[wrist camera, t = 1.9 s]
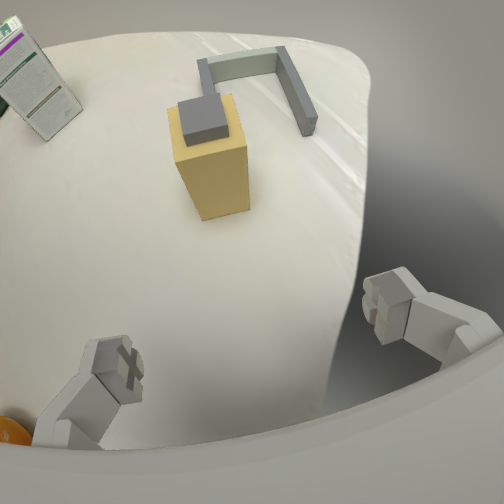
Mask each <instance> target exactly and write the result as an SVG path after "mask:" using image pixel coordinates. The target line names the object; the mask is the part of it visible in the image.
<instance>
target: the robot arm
mask: <svg viewBox="0 0 504 504" xmlns="http://www.w3.org/2000/svg"><path fill="white" fill-rule="evenodd" d="M363 288H364V290H365V291H366V294H365V295H364V296H363V299H362V306H363V311H364V314H365V317H366V319H367V320H368V322H369V323H370V324H372V325H374V326H375V330H374V332H375V334H376V335H377V337H378V339H379V340H380V342H381V343H382V345H384V344H387V343H390V342H393V341H396V340H399V339H402V338H404V339H405V340H406V341H408V342H410V343H411V344H413V345H415V346H416V347H418V348H420V349H421V350H423V351H424V352H426V353H428V354H430V355H431V356H433V357H435V358H436V359H438V360H440V361H441V362H443V363H442V366H441V368H440V370H439V372H437V373H435V374H433V375H431V376H429V377H426V378H424V379H422V380H420V381H418V382H415V383H413V384H411V385H408V386H406V387H404V388H401V389H399V390H397V391H394V392H392V393H389V394H387V395H384V396H382V397H379V398H376V399H374V400H371V401H368V402H366V403H363V404H360V405H357V406H354V407H352V408H348V409H346V410H342V411H339V412H336V413H333V414H330V415H327V416H323V417H320V418H317V419H313V420H310V421H306V422H303V423H299V424H295V425H291V426H287V427H283V428H279V429H275V430H271V431H266V432H262V433H257V434H252V435H247V436H242V437H237V438H231V439H226V440H220V441H213V442H207V443H200V444H192V445H183V446H174V447H164V448H151V449H134V450H105V449H103V448H102V447H101V446H99V445H98V443H99V441H100V440H101V438H102V436H103V434H104V433H105V431H106V429H107V428H108V426H109V424H110V423H111V421H112V420H113V418H114V416H115V415H116V413H117V411H118V410H119V408H120V406H121V405H122V404H130V403H137V402H142V391H143V386H142V385H141V383H140V382H139V381H140V380H141V379H142V378H143V376H144V366H143V360H142V358H141V355H140V354H139V352H138V351H137V350H135V349H134V348H132V341H131V339H130V338H129V336H127V335H121V336H114V337H107V338H101V339H96V340H89V341H88V342H87V343H86V347H85V350H84V354H83V357H82V361H81V365H80V369H79V373H78V376H74V377H73V378H72V379H71V380H70V382H69V383H68V384H67V385H66V386H65V387H64V388H63V389H62V391H61V392H60V393H59V394H58V395H57V396H56V397H55V399H54V400H53V401H52V402H51V403H50V404H49V405H48V407H47V408H46V409H45V410H44V411H43V412H42V413H41V415H40V416H39V417H38V418H37V422H36V426H35V431H34V435H33V439H32V444H31V446H23V445H15V444H8V443H2V442H0V504H504V333H503V332H502V331H501V329H500V328H499V327H498V326H497V325H496V324H495V322H494V321H493V320H492V319H491V318H490V317H489V316H488V314H487V313H485V312H483V311H480V310H478V309H475V308H472V307H470V306H467V305H465V304H462V303H459V302H457V301H454V300H452V299H449V298H446V297H444V296H441V295H438V294H436V293H433V292H430V293H428V292H427V291H426V290H425V289H424V288H423V286H422V285H421V284H420V283H419V282H418V281H417V280H416V279H415V278H414V276H413V275H412V274H411V273H410V272H409V271H408V270H407V269H406V268H405V267H399V268H396V269H393V270H390V271H388V272H384V273H381V274H378V275H374V276H371V277H368V278H365V280H364V282H363Z"/></svg>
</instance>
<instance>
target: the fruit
mask: <svg viewBox="0 0 504 504" xmlns="http://www.w3.org/2000/svg"><path fill="white" fill-rule="evenodd" d="M32 439H33V438H32V436H31V435H30V434H29V432H28V431H27V430H26V429H25V428H24V427H23V426H22V425H20V424H19V423H18V422H16V421H14V420H13V419H10V418H8V417H5V416H0V442H2V443H8V444H15V445H23V446H31V444H32Z"/></svg>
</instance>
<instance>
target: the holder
mask: <svg viewBox="0 0 504 504" xmlns="http://www.w3.org/2000/svg"><path fill="white" fill-rule="evenodd" d="M197 64H198V69H199V74H200V79H201V83H202V88H203V92H204V96H207V95H212V94H216V92H215V88H214V85H213V83H215V82H220V81H225V80H230V79H235V78H241V77H247V76H253V75H259V74H266V73H273V72H276V73H277V75H278V78H279V80H280V82H281V85H282V87H283V89H284V92H285V94H286V96H287V99H288V101H289V104H290V106H291V108H292V111H293V113H294V116H295V118H296V121H297V123H298V126H299V128H300V131H301V134H302V136H303V137H304V136H310V135H313V132H314V129H315V125H316V122H317V118H318V115H317V113H316V110H315V108H314V106H313V104H312V102H311V99H310V97H309V95H308V93H307V91H306V89H305V87H304V84H303V82H302V80H301V78H300V76H299V74H298V72H297V70H296V68H295V66H294V64H293V62H292V60H291V58H290V56H289V54H288V52H287V50H286V48H285V46H277V47H269V48H261V49H254V50H247V51H241V52H235V53H229V54H223V55H218V56H213V57H208V58H204V59H199V60H197Z"/></svg>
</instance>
